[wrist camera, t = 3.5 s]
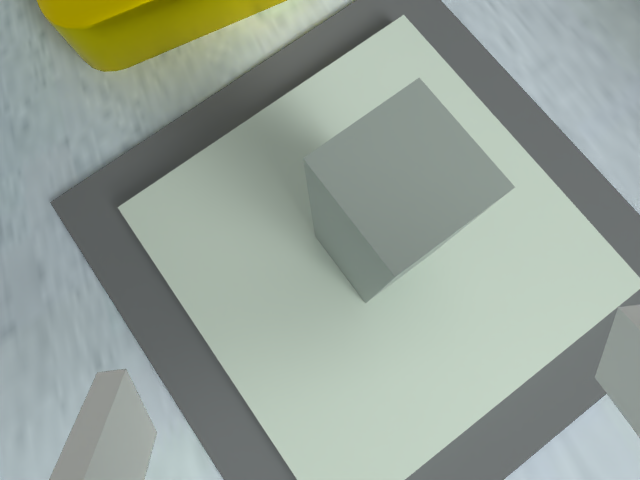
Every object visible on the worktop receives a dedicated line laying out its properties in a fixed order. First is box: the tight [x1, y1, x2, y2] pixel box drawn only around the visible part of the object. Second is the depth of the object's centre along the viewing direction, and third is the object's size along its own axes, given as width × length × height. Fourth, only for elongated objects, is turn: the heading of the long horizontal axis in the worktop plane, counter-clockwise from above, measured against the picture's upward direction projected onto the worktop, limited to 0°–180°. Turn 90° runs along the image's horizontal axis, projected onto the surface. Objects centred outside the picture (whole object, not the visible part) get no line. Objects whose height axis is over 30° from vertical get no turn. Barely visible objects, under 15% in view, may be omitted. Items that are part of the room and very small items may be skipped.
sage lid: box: [118, 15, 640, 480], centre depth 17 cm, size 18×18×11 cm
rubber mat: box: [50, 0, 640, 480], centre depth 23 cm, size 24×24×1 cm
